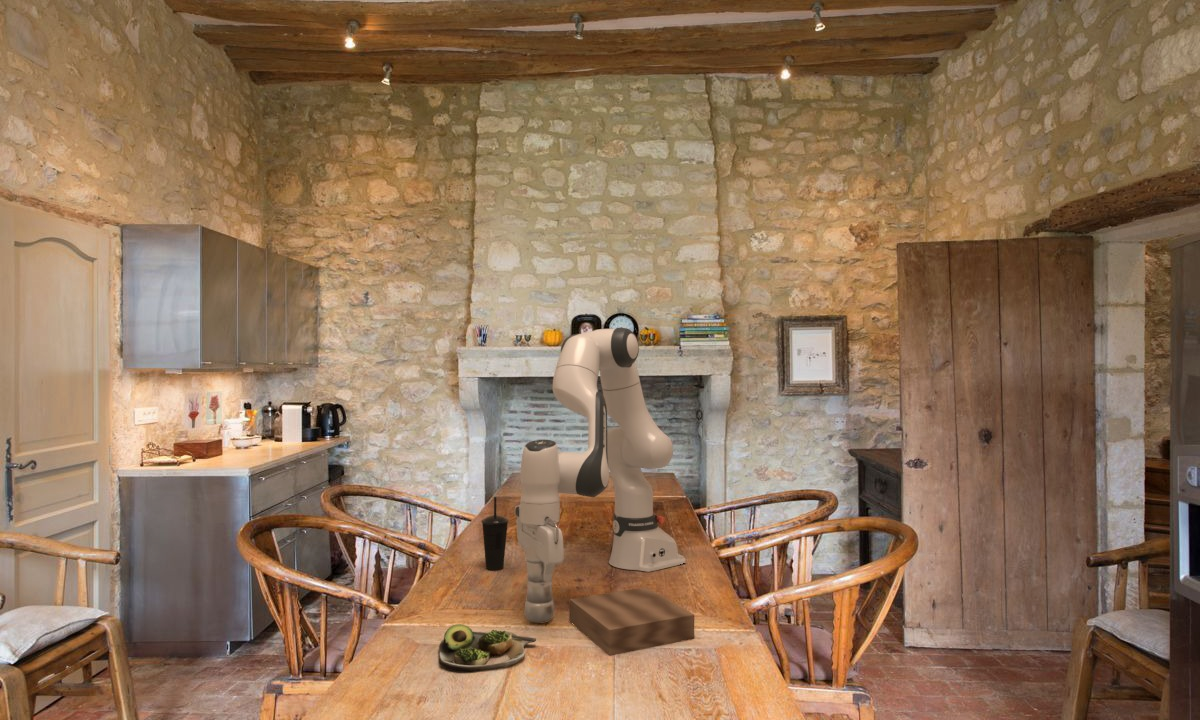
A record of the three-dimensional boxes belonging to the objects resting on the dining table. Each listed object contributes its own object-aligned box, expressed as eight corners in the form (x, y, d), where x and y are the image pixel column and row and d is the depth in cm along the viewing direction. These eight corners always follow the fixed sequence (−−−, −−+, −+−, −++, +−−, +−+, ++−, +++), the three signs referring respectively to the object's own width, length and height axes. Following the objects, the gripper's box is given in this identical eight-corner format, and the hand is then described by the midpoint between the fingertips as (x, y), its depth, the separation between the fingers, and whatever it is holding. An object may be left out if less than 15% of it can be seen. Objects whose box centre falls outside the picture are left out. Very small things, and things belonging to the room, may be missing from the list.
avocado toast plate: (531, 633, 149) (531, 611, 149) (543, 668, 132) (543, 644, 132) (439, 640, 145) (439, 618, 145) (438, 678, 127) (438, 652, 127)
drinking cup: (513, 566, 197) (513, 495, 197) (500, 573, 190) (501, 500, 190) (489, 563, 200) (489, 494, 200) (475, 570, 192) (476, 498, 193)
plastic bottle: (524, 616, 158) (525, 528, 158) (554, 615, 158) (554, 528, 159) (523, 627, 151) (524, 535, 152) (554, 626, 152) (555, 535, 152)
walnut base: (646, 608, 164) (647, 587, 164) (694, 638, 146) (694, 614, 146) (569, 621, 155) (569, 599, 155) (609, 655, 137) (609, 630, 137)
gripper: (571, 521, 147) (570, 586, 147) (537, 504, 166) (536, 561, 165) (543, 524, 144) (543, 590, 144) (512, 506, 163) (511, 565, 163)
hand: (539, 575), depth 155 cm, fingers open, 8 cm apart
